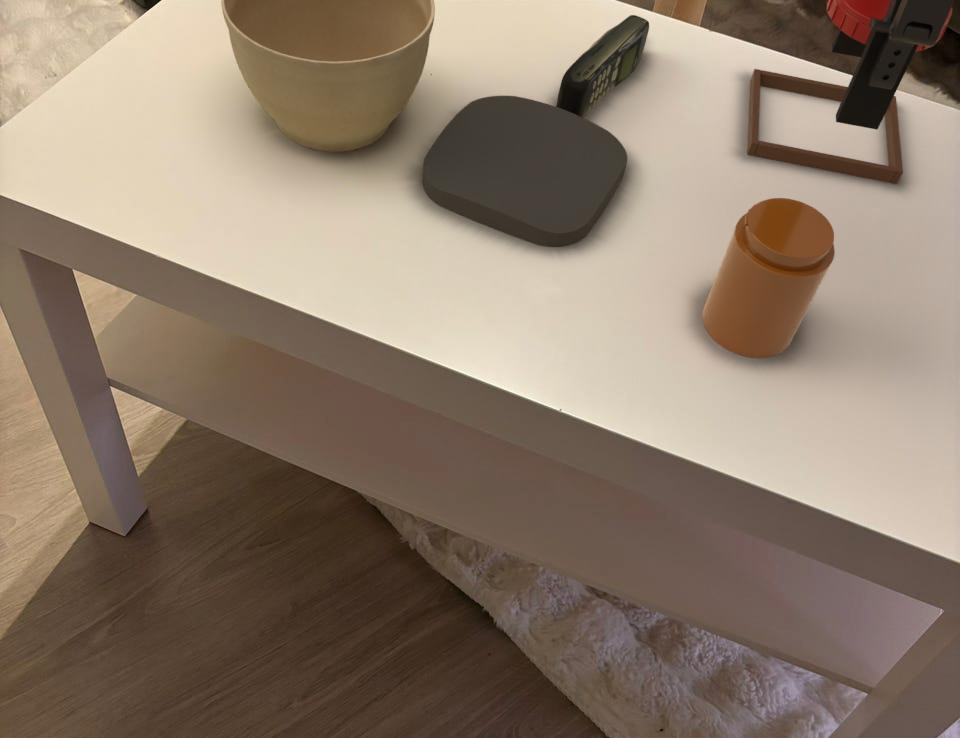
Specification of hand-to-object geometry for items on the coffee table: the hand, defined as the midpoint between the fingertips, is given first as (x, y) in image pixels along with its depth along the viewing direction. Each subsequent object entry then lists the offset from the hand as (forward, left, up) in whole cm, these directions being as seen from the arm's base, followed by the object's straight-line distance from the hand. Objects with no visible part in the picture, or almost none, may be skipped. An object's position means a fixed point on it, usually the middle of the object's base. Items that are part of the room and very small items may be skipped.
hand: (853, 85), depth 68 cm
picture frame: (-4, -19, -17) cm, 25 cm away
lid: (0, 0, +6) cm, 6 cm away
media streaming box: (+21, -5, -17) cm, 27 cm away
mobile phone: (+16, -20, -17) cm, 30 cm away
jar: (+2, +7, -17) cm, 18 cm away
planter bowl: (+38, -8, -17) cm, 42 cm away
